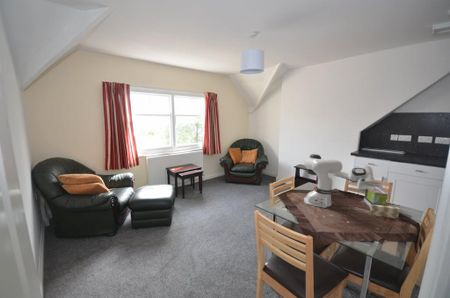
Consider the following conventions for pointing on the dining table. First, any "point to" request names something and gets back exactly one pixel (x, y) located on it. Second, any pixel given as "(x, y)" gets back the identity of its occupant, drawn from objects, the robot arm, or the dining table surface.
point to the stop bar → (384, 211)
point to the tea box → (375, 196)
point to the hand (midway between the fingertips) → (371, 195)
